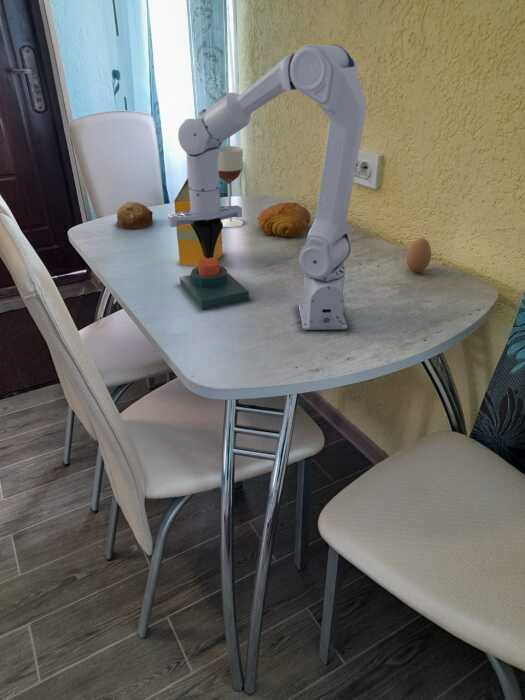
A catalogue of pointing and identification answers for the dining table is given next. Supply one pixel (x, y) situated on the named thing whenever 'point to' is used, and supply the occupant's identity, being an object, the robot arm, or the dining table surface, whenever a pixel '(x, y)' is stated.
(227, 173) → the wineglass
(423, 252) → the egg
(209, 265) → the push button
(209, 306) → the green button base
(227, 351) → the dining table surface
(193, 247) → the orange juice
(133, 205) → the bread roll
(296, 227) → the golden brown pastry bun
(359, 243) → the dining table surface
